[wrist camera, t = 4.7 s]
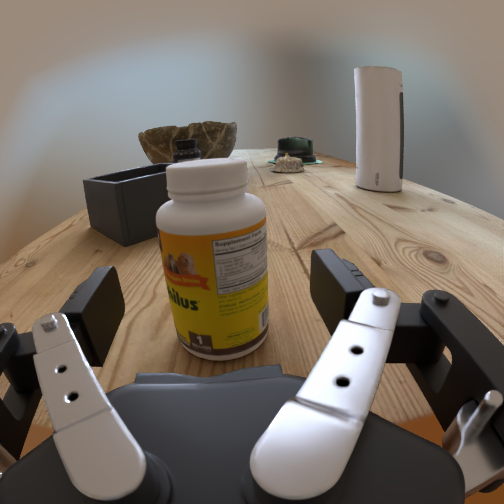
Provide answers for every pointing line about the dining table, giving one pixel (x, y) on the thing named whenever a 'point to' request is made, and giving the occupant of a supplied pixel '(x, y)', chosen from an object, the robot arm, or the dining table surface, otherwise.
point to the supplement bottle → (215, 258)
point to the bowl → (207, 134)
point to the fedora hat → (296, 149)
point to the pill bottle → (186, 151)
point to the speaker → (379, 128)
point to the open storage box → (127, 202)
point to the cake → (288, 164)
